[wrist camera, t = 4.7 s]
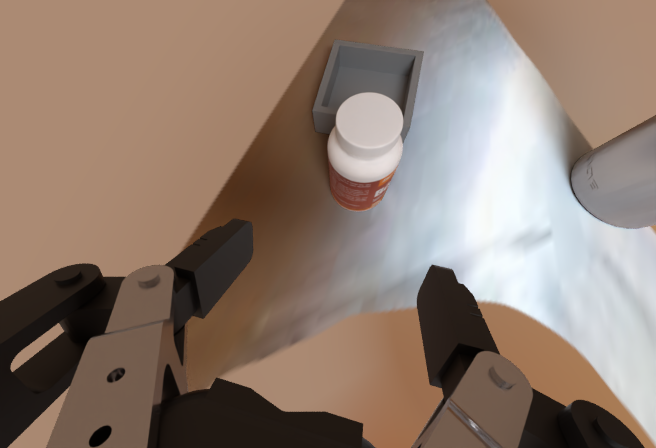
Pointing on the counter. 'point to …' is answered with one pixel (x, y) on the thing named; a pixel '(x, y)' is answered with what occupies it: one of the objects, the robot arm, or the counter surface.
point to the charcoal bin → (367, 80)
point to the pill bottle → (364, 150)
